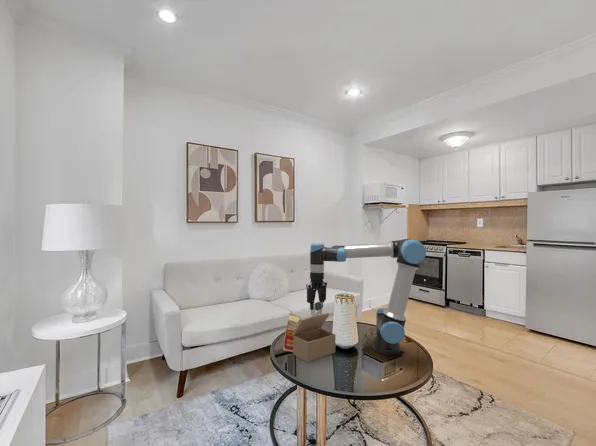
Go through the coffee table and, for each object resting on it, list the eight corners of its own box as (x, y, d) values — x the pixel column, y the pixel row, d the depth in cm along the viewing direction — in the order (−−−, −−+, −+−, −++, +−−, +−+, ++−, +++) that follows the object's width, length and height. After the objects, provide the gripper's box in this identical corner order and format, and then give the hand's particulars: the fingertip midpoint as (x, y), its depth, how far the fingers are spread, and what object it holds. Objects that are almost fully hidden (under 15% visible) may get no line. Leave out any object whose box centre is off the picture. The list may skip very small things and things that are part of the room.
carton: (335, 352, 160) (335, 334, 161) (307, 362, 148) (307, 343, 148) (320, 345, 170) (320, 328, 170) (293, 354, 158) (293, 335, 158)
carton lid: (335, 304, 161) (330, 298, 164) (307, 310, 149) (302, 303, 152) (320, 328, 170) (316, 321, 173) (293, 335, 158) (289, 328, 161)
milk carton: (283, 350, 163) (283, 314, 163) (288, 343, 171) (289, 309, 171) (298, 352, 160) (299, 316, 160) (303, 346, 168) (304, 311, 168)
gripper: (324, 269, 167) (323, 310, 167) (300, 272, 156) (299, 315, 156) (333, 271, 161) (332, 313, 161) (309, 274, 150) (308, 319, 150)
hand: (316, 314), depth 158 cm, fingers closed on carton lid, 4 cm apart
